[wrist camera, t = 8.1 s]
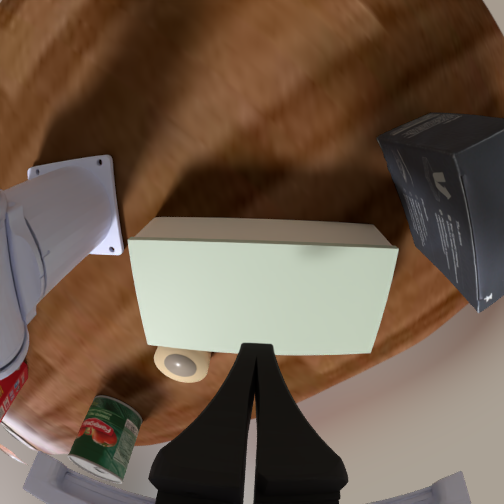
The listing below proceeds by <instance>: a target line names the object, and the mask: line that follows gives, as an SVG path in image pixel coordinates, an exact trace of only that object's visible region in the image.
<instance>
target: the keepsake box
mask: <svg viewBox="0 0 504 504" xmlns="http://www.w3.org/2000/svg"><path fill="white" fill-rule="evenodd" d="M135 237H159V238H200V239H235V240H266V241H294V242H320V243H344V244H367V245H388V246H392V245H391V244H390V243H389V242H388V240H387V239H386V238H385V237H384V236H383V235H382V234H381V233H380V231H379V230H378V229H377V228H376V227H375V226H374V225H373V224H360V223H344V222H326V221H305V220H281V219H251V218H206V217H155V218H154V219H153V220H152V221H151V222H149V223H148V224H147V225H146V226H145V227H144V228H143V229H142V230H141V231H140V232H139V233H138V234H137V235H136V236H135Z"/></svg>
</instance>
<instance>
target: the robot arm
mask: <svg viewBox="0 0 504 504" xmlns="http://www.w3.org/2000/svg"><path fill="white" fill-rule="evenodd" d="M100 159H101V160H102V165H101V164H100V163H99V160H100ZM38 170H39V172H38ZM111 247H113V248H114V250H112V248H111ZM123 251H124V245H123V240H122V234H121V227H120V221H119V214H118V206H117V199H116V190H115V181H114V170H113V160H112V157H111V156H110V155H99V156H92V157H85V158H79V159H72V160H66V161H61V162H55V163H50V164H45V165H40V166H35V167H31V168H29V169H28V180H27V181H25V182H23V183H20V184H18V185H15V186H13V187H11V188H9V189H6V190H4V191H2V190H1V189H0V380H2V379H4V378H6V377H8V376H9V375H10V374H12V373H13V372H14V371H15V370H16V369H17V368H18V367H19V366H20V365H21V363H22V362H23V360H24V358H25V356H26V354H27V351H28V346H29V333H28V329H27V324H28V323H29V322H30V321H31V320H32V319H33V318H34V316H35V315H36V305H37V304H38V302H39V301H40V300H41V299H42V298H43V297H44V296H45V295H46V294H47V293H48V292H49V291H50V290H51V289H52V288H53V287H54V286H55V285H56V284H57V283H58V282H59V281H60V280H61V279H62V278H63V277H65V276H66V275H67V274H68V273H69V272H70V271H71V270H72V269H73V268H74V267H75V266H76V265H77V264H78V263H79V262H80V261H82V260H83V259H84V258H85V257H86V256H87V255H88V254H104V255H121V254H122V253H123ZM254 395H255V402H256V422H257V450H256V469H255V485H254V503H253V504H339V499H340V490H341V489H342V488H343V487H344V486H345V485H346V484H347V483H348V475H347V472H346V469H345V466H344V464H343V461H342V459H341V458H340V457H339V456H338V455H337V454H336V453H335V452H334V451H333V450H332V449H331V448H330V447H329V446H328V445H327V444H326V443H325V442H324V441H323V440H322V439H321V437H320V436H319V435H318V434H317V433H316V431H315V430H314V429H313V428H312V426H311V425H310V424H309V423H308V421H307V420H306V418H305V417H304V416H303V414H302V412H301V411H300V409H299V408H298V406H297V404H296V403H295V401H294V399H293V397H292V396H291V394H290V392H289V390H288V388H287V386H286V383H285V381H284V379H283V376H282V374H281V372H280V369H279V366H278V363H277V360H276V357H275V353H274V347H273V345H272V344H265V343H242V344H241V347H240V350H239V353H238V356H237V358H236V360H235V362H234V365H233V367H232V368H231V370H230V372H229V374H228V376H227V378H226V380H225V381H224V383H223V384H222V386H221V387H220V389H219V391H218V392H217V394H216V395H215V396H214V398H213V399H212V400H211V402H210V403H209V404H208V406H207V407H206V408H205V409H204V410H203V411H202V413H201V414H200V415H199V416H198V417H197V418H196V419H195V420H194V421H193V422H192V423H191V424H190V425H189V426H188V427H187V428H186V429H185V430H184V431H183V432H182V433H181V434H179V435H178V436H177V437H176V438H175V439H173V440H172V441H171V442H169V443H168V444H167V445H166V446H164V447H163V448H162V449H160V451H159V452H158V454H157V456H156V458H155V460H154V462H153V464H152V467H151V470H150V474H149V478H148V479H149V481H150V482H151V483H152V484H153V485H154V486H155V487H156V488H157V489H158V493H157V497H156V499H154V498H150V497H147V496H143V495H139V494H136V493H132V492H129V491H126V490H123V489H119V488H116V487H113V486H110V485H108V484H105V483H102V482H100V481H97V480H94V479H92V478H89V477H87V476H84V475H82V474H80V473H77V472H75V471H73V470H71V469H68V468H67V467H66V466H65V465H64V464H63V463H62V462H60V461H58V460H57V459H55V458H53V457H51V456H49V455H47V454H45V453H43V452H41V451H38V453H37V456H36V458H35V460H34V462H33V465H32V467H31V469H30V471H29V474H28V476H27V478H26V481H25V483H24V486H23V489H24V490H26V491H27V492H29V493H30V494H32V495H33V496H35V497H37V498H38V499H40V500H41V501H43V502H45V503H46V504H243V498H244V483H245V468H246V453H247V452H246V451H247V439H248V430H249V424H250V419H251V413H252V407H253V401H254ZM367 504H471V501H470V497H469V494H468V490H467V487H466V483H465V480H464V476H463V473H462V471H459V472H457V473H455V474H452V475H450V476H447V477H445V478H442V479H440V480H438V481H437V482H435V483H434V484H432V486H429V487H426V488H423V489H421V490H417V491H414V492H411V493H408V494H404V495H401V496H397V497H393V498H389V499H385V500H382V501H376V502H372V503H367Z"/></svg>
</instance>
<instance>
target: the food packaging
mask: <svg viewBox="0 0 504 504" xmlns="http://www.w3.org/2000/svg"><path fill="white" fill-rule="evenodd" d="M27 379H28V369H27V364H26V363H24V362H22V363H21V365H20V366H19V367H18V368H17V369H16V370H15V371H14V372H13V373H12V374H10V375H9V376H8V377H6V378H4V379H2V380H0V422H1V420H2V419H3V417H4V415H5V414H6V412H7V410H8V409H9V407H10V405H11V404H12V402H13V400H14V399H15V397H16V396H17V394H18V393H19V391H20V389H21V388H22V386H23V385H24V383H25V382H26V380H27Z"/></svg>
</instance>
